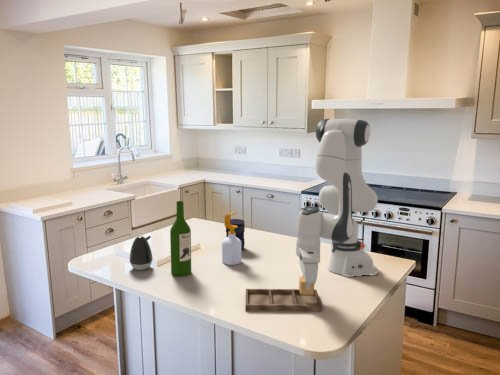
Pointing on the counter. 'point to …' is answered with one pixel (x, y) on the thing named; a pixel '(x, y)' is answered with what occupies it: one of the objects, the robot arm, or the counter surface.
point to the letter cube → (302, 287)
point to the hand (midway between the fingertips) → (306, 285)
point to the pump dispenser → (141, 253)
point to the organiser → (281, 300)
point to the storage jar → (238, 230)
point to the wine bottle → (180, 244)
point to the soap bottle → (231, 245)
